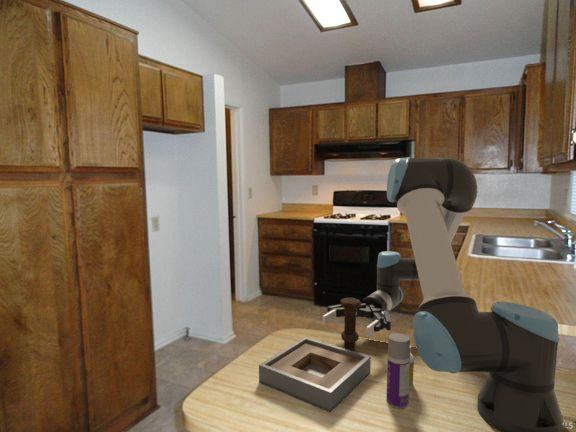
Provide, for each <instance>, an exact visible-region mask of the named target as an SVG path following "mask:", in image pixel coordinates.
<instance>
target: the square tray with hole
mask: <svg viewBox="0 0 576 432" xmlns="http://www.w3.org/2000/svg"><path fill="white" fill-rule="evenodd" d="M360 361H361V359H358V358H355V357H351V356H348V355H345V354H342V353H338V352H335V351H332V350H329V349H326V348H322V347H319V346H316V345H313V344H309V343H305V344H303V345H302V346H300V347H298V348H297V349H295V350H294V351H292V352H290V353H289V354H287V355H286V356H284V357H282V358H281V359H279V360H278V361H276V362H275V363H273V364H271V365H270V367H273V368H275V369H278V370H280V371H283V372H286V373H288V374H291V375H294V376H296V377H299V378H301V379H304V380H307V381H309V382H312V383H315V384H317V385H320V386H322V387H325V388H328V389H330V388H331V387H332V386H333V385H334V384H335V383H337V382H338V381H339V380H340V379H341V378H342V377H343V376H344V375H346V374H347V373H348V372H349V371H350V370H351V369H352V368H354V367H355V366H356V365H357V364H358V363H359V362H360ZM310 363H311V364H314V365H317V366H320V367H323V368H326V369H329V370H331V371H330V372H328V373H327V374H326V375H325V376H323V377H319V376H316V375H314V374H311V373H308V372H306V371H303V370H302V369H303V368H305V367H306V366H308V365H309V364H310Z"/></svg>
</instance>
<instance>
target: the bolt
mask: <svg viewBox="0 0 576 432" xmlns="http://www.w3.org/2000/svg"><path fill="white" fill-rule="evenodd" d="M361 302H362V301H360V299H358V298H354V297H344V298H342V299H340V301H339V305H341V306H342V307H343V308H344V311H345V316H344V329H343V331H342V332H341V335H340V336H341V337H340V338H341V340H342V341H343V342H344V343H343V348H344V349H347V350H350V351H354V352H355V350H356V342H357V341H358V340H359V339H360V338H359V332H357V331H356V328H357V327H356V325H357V323H356V322H357V317H356V314H357V312H356V308H359V307H361Z"/></svg>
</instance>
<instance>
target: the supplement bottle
mask: <svg viewBox="0 0 576 432" xmlns="http://www.w3.org/2000/svg"><path fill="white" fill-rule="evenodd" d="M414 363H415V359H414V356H413V354H412V345H411V344H410V368H409V389H411V388H412V387H413V386H414V367H415V366H414Z"/></svg>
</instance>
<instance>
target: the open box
mask: <svg viewBox="0 0 576 432" xmlns="http://www.w3.org/2000/svg"><path fill="white" fill-rule="evenodd" d="M305 343H309V344H313V345H316V346H319V347H322V348H326V349H329V350H332V351H335V352H338V353H342V354H345V355H348V356H351V357H355V358H358V359H361V361H360V362H359V363H358V364H357V365H356V366H355V367H354V368H352V369H351V370H350V371H349V372H348V373H347V374H346V375H344V376H343V377H342V378H341V379H340V380H339V381H338V382H337V383H335V384H334V385H333V386H332V387H331V388H330V389H328V388H325V387H322V386H320V385H317V384H315V383H312V382H309V381H307V380H304V379H301V378H299V377H296V376H294V375H291V374H288V373H286V372H283V371H280V370H278V369H275V368H273V367H270V365H271V364H273V363H275V362H276V361H278V360H279V359H281V358H282V357H284V356H286V355H287V354H289V353H290V352H292V351H294V350H295V349H297V348H298V347H300V346H302V345H303V344H305ZM371 359H372V358H371V356H370V355H367V354H363V353H360V352H356V351H355V350H354V351H350V350H347V349H344V347H341V346H336V345H334V344H330V343H327V342H323V341H320V340H317V339H314V338H310V337H308V336H304V337H302V338H301V339H299V340H298V341H296V342H294V343H293V344H291V345H290V346H288V347H286V348H285V349H282V351H280V352H277V353H276V354H274V355H273V356H271V357H270V358H267V359H266V360H265V361H263V362H262V363H260V364H258V383H259V384H261V385H264V386H267V387H269V388H271V389H272V390H276V391H278V392H280V393H283V394H285V395H288V396H289V397H292V398H295V399H297V400H299V401H302V402H304V403H307V404H309V405H311V406H313V407H316V408H318V409H321V410H323V411H326V412H328V413H332V412H333V411H334V410H335V409H336V408H338V406H339V405H340V404H341V403H342V402H343V401H344V400H345V399H347V397H348V396H349V395H351V393H353V391H355V389H357V388H358V387H359V385H360V384H362V383H363V382H364V381H365V380H366V378H367V377H369V376H370V375H371V365H372V364H371ZM302 370H303V371H306V372H308V373H311V374H314V375H316V376H319V377H323V376H325V375H326V374H327V373H328V372H330V371H331V370H329V369H326V368H323V367H320V366H317V365H314V364H311V363H310V364H309V365H308V366H306V367H305V368H303V369H302Z"/></svg>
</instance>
